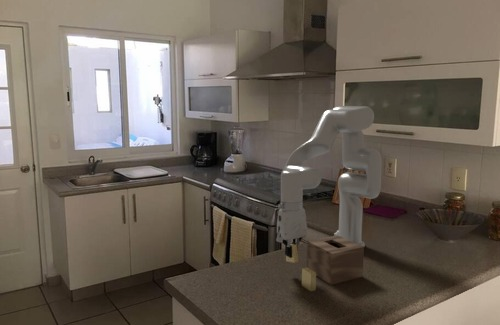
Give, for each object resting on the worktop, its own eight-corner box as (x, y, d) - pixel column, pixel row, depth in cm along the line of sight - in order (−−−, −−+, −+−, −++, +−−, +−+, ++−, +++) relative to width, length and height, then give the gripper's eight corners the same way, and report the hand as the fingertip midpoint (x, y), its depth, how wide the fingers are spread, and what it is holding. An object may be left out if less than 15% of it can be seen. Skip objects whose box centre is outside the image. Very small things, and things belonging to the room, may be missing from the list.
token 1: (286, 261, 149) (284, 244, 149) (291, 260, 150) (288, 243, 150) (294, 262, 144) (291, 245, 145) (298, 261, 145) (296, 244, 146)
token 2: (301, 285, 140) (302, 268, 139) (306, 284, 141) (306, 267, 140) (310, 291, 136) (311, 273, 135) (315, 290, 137) (316, 272, 136)
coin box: (306, 270, 153) (307, 241, 151) (336, 263, 159) (337, 235, 158) (331, 284, 141) (332, 253, 139) (362, 276, 147) (364, 246, 146)
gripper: (278, 211, 138) (278, 264, 141) (316, 204, 145) (315, 255, 148) (266, 206, 144) (266, 256, 147) (303, 200, 151) (303, 248, 154)
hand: (291, 255), depth 148 cm, fingers closed on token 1, 1 cm apart
